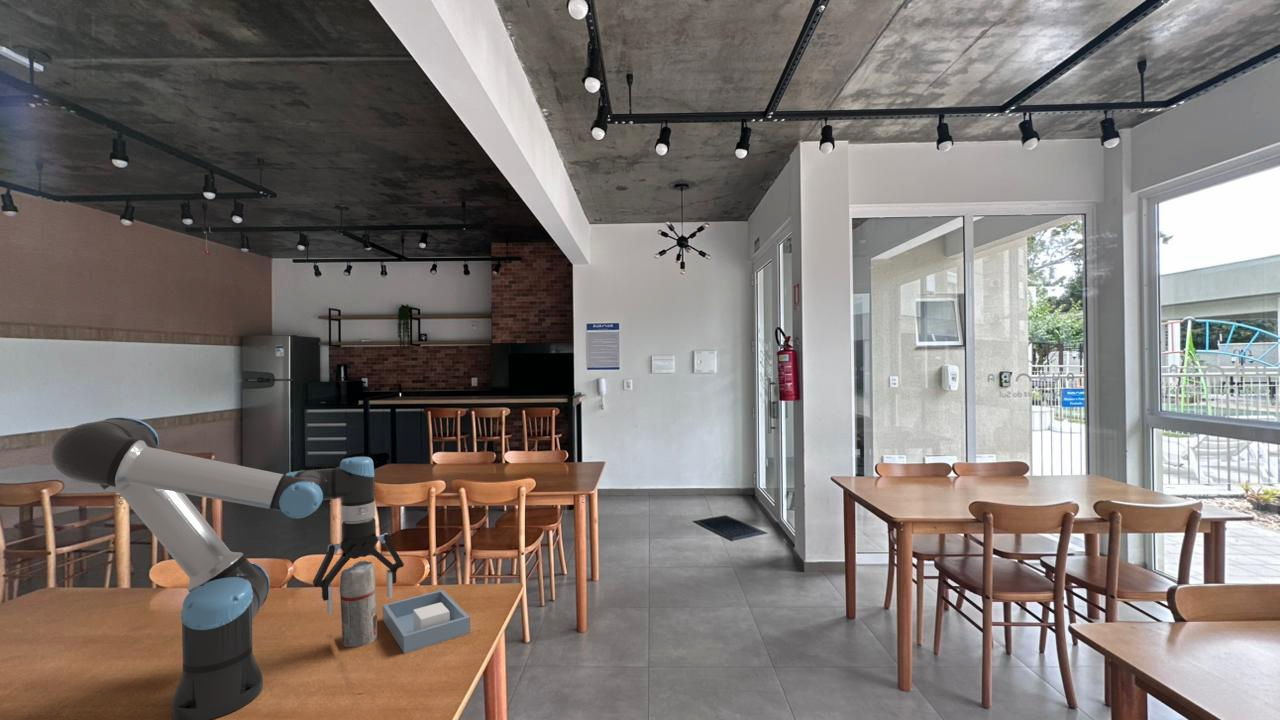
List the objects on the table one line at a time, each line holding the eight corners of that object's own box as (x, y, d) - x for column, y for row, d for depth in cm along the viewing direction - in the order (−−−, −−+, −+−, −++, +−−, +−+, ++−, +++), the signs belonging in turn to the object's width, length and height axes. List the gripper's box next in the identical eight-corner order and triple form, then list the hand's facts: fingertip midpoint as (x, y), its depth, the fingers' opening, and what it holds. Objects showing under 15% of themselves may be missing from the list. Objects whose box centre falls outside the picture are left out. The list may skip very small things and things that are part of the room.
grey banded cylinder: (367, 652, 133) (366, 569, 134) (334, 652, 134) (333, 570, 134) (384, 635, 142) (383, 557, 142) (352, 635, 142) (352, 557, 142)
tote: (404, 657, 131) (404, 636, 131) (382, 623, 148) (382, 605, 148) (470, 636, 140) (470, 617, 140) (442, 607, 158) (442, 589, 158)
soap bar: (421, 644, 135) (421, 619, 135) (413, 633, 141) (413, 609, 141) (450, 635, 139) (449, 611, 139) (441, 625, 145) (441, 602, 145)
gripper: (302, 533, 127) (304, 625, 127) (414, 513, 142) (416, 595, 142) (298, 526, 133) (301, 613, 133) (407, 507, 148) (409, 586, 148)
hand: (360, 604), depth 138 cm, fingers open, 13 cm apart
